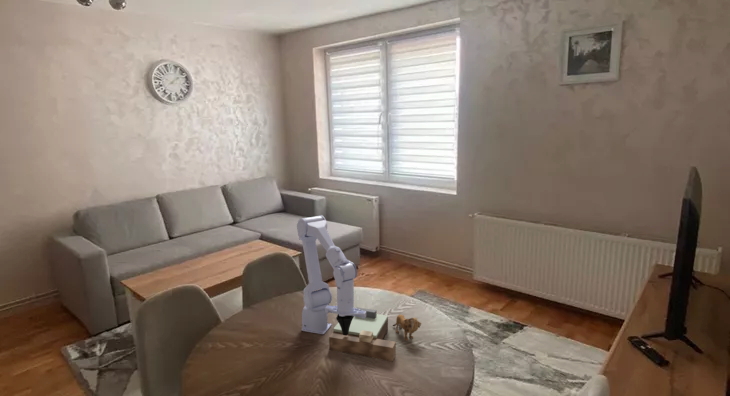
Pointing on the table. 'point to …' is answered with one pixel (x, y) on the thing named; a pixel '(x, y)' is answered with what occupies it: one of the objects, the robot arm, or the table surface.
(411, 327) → the lion figurine
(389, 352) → the wooden box
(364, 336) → the wooden key
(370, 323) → the lid
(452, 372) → the table surface
